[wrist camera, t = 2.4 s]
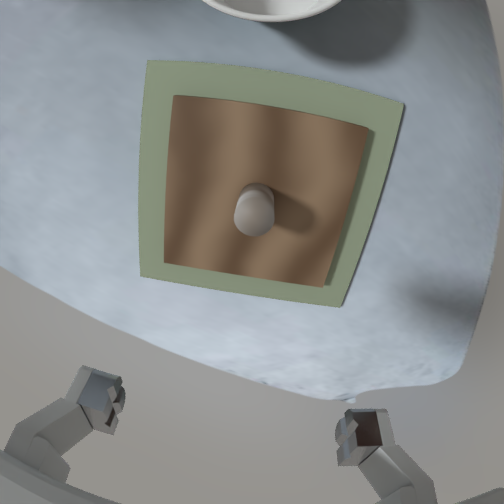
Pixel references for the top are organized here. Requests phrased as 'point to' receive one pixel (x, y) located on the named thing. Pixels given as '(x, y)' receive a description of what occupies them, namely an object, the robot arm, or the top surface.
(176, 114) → the walnut lid
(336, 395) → the top surface
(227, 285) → the olive mat
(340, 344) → the top surface
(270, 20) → the food container
